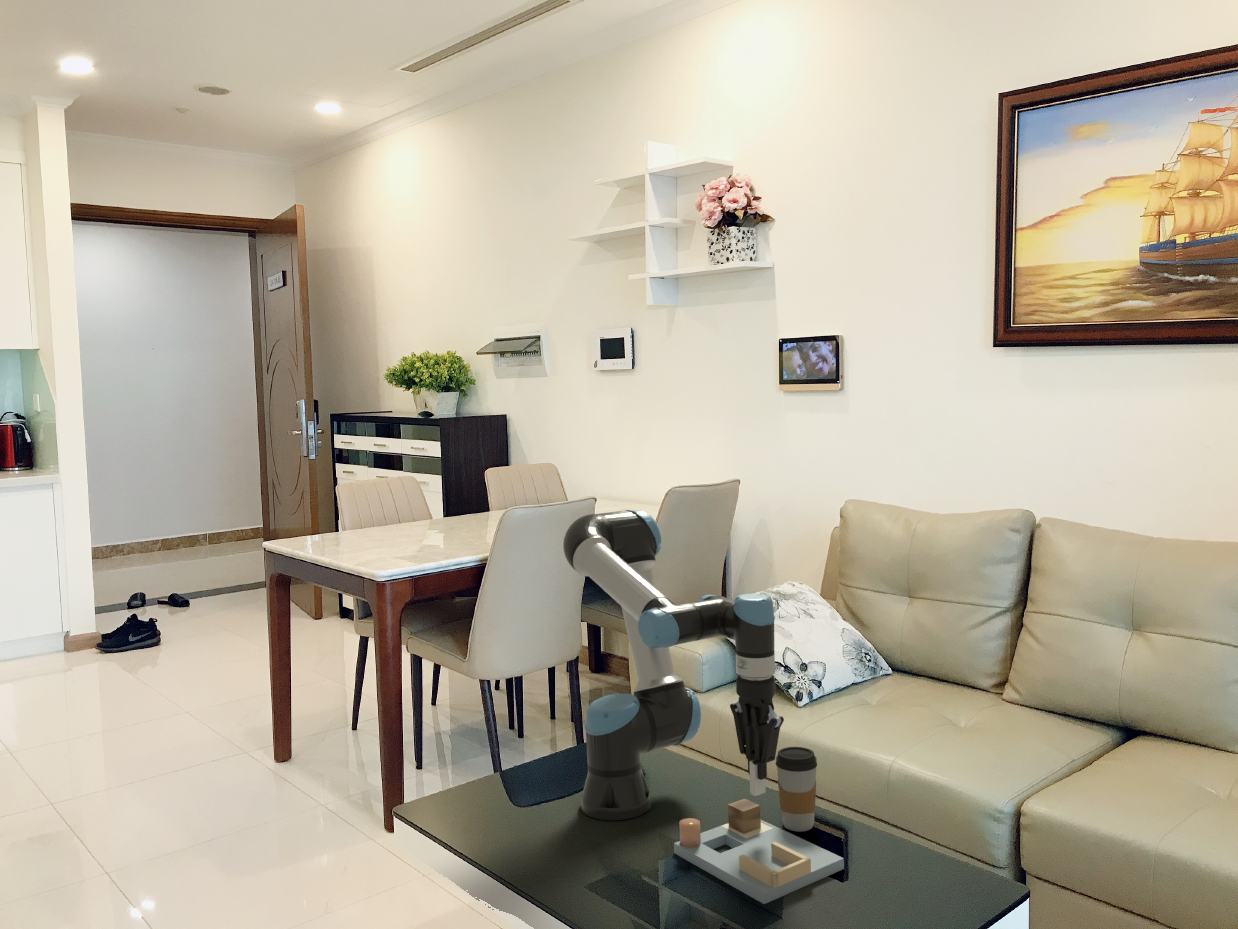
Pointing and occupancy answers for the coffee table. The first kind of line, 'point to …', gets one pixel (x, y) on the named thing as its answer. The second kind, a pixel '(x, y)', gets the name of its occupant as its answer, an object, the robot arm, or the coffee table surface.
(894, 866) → the coffee table surface
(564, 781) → the coffee table surface
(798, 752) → the coffee cup
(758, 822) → the walnut cube
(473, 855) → the coffee table surface
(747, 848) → the board
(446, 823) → the coffee table surface
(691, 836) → the beige cylinder
